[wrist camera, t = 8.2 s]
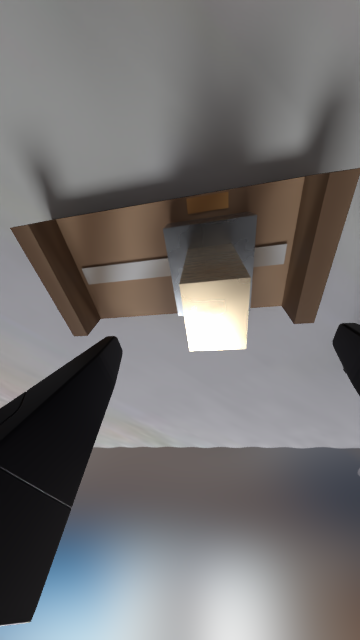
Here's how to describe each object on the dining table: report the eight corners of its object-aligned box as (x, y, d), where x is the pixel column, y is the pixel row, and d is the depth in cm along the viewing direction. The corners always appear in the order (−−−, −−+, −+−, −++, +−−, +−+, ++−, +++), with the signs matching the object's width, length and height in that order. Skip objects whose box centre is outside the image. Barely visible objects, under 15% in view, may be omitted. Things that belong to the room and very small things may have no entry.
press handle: (249, 211, 14) (297, 232, 7) (244, 297, 17) (272, 367, 10) (168, 223, 14) (137, 253, 8) (180, 302, 18) (168, 369, 11)
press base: (318, 173, 13) (361, 167, 10) (292, 297, 19) (313, 322, 15) (51, 219, 17) (10, 227, 13) (95, 312, 23) (74, 336, 19)
